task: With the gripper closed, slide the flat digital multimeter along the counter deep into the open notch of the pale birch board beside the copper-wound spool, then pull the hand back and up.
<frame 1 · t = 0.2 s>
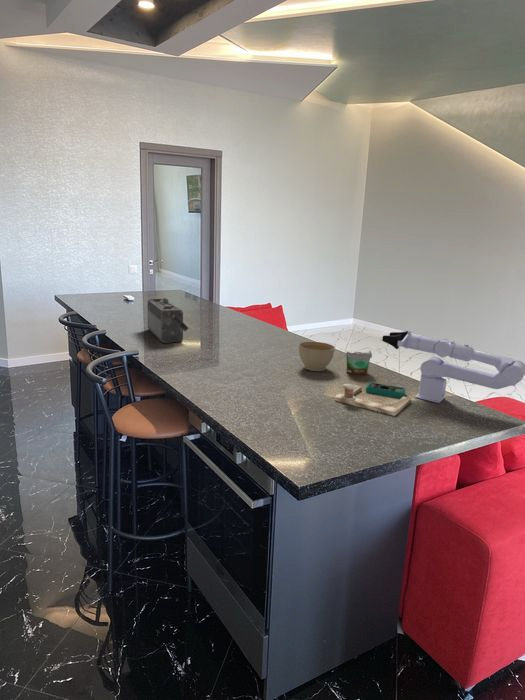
hand: (386, 336, 193), 21 cm above the countertop, tool horizontal, fingers open, 7 cm apart
planter bowl: (315, 369, 219), on the countertop
notched board: (372, 401, 181), on the countertop
food container: (359, 374, 214), on the countertop
digital multimeter: (385, 394, 191), on the countertop
radio: (166, 336, 268), on the countertop
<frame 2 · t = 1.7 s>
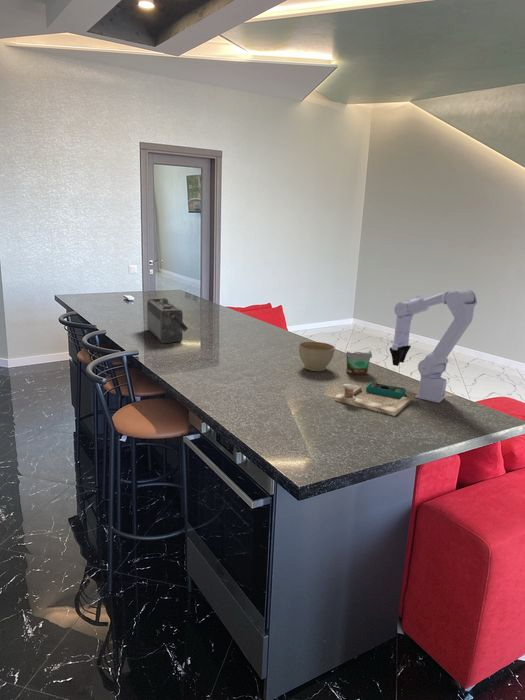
hand: (398, 363, 199), 9 cm above the countertop, tool pointing down, fingers open, 6 cm apart
nothing on the countertop moved.
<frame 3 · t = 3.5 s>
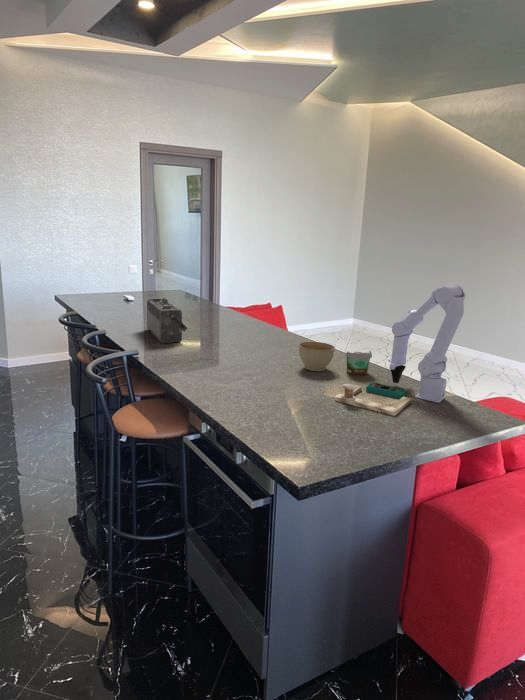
hand: (395, 382, 200), 1 cm above the countertop, tool pointing down, fingers closed
nothing on the countertop moved.
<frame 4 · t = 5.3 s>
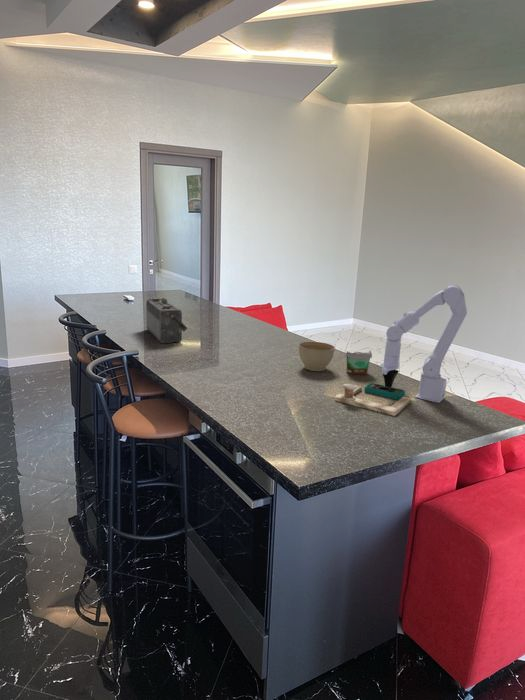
hand: (388, 387, 193), 1 cm above the countertop, tool pointing down, fingers closed
digital multimeter: (384, 395, 190), on the countertop
everything else where it was.
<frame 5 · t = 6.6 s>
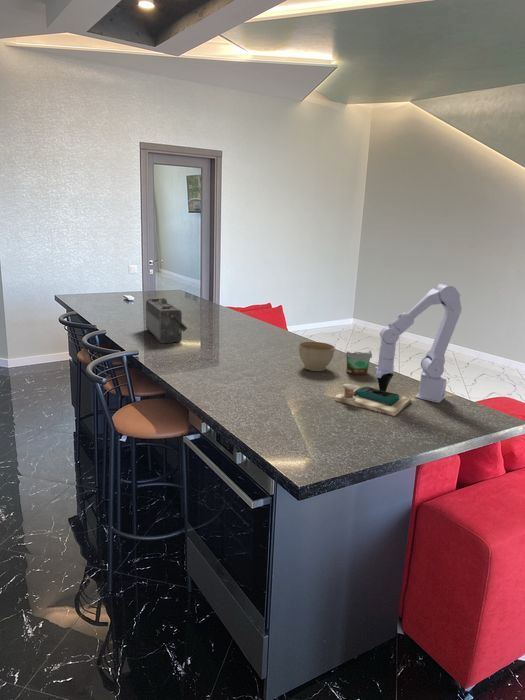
hand: (382, 391, 188), 1 cm above the countertop, tool pointing down, fingers closed
digital multimeter: (377, 399, 185), on the countertop, touching gripper
everything else where it was.
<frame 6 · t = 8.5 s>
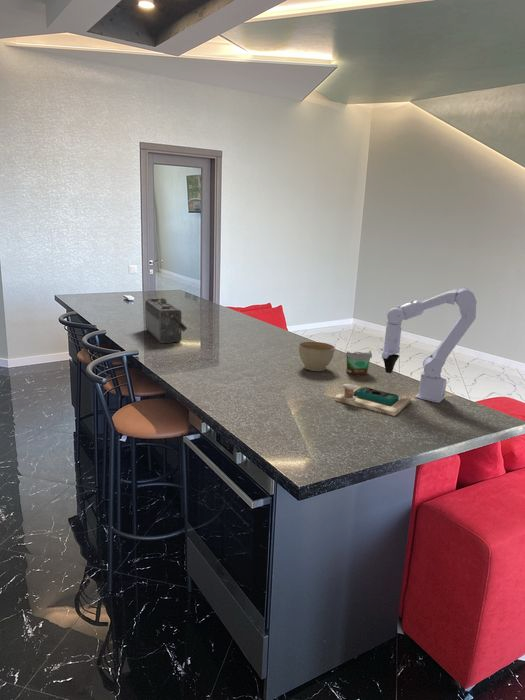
hand: (388, 372, 190), 8 cm above the countertop, tool pointing down, fingers closed
digital multimeter: (377, 399, 184), on the countertop
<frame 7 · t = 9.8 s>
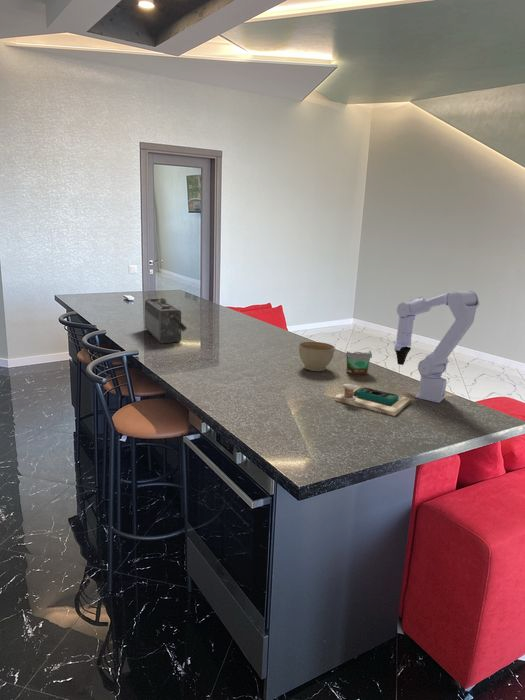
hand: (400, 364, 198), 9 cm above the countertop, tool pointing down, fingers closed
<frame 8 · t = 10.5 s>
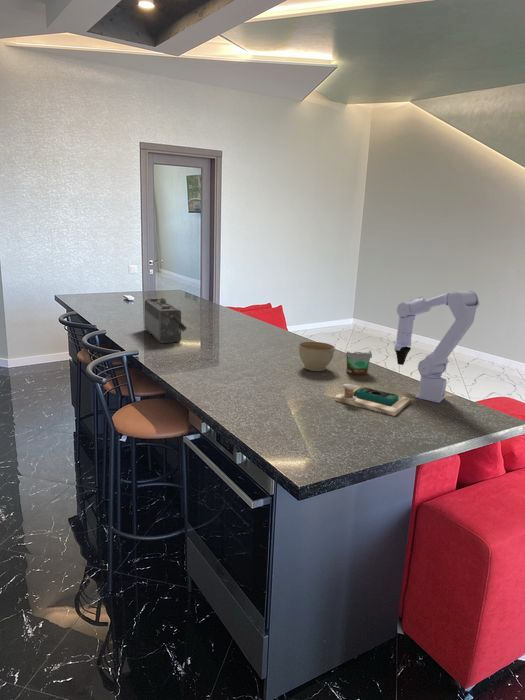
hand: (400, 364, 198), 9 cm above the countertop, tool pointing down, fingers closed
at the end: digital multimeter inside the target area (0.1 cm from its centre), on the countertop; digital multimeter moved 8.9 cm from its start; the gripper is holding nothing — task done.
